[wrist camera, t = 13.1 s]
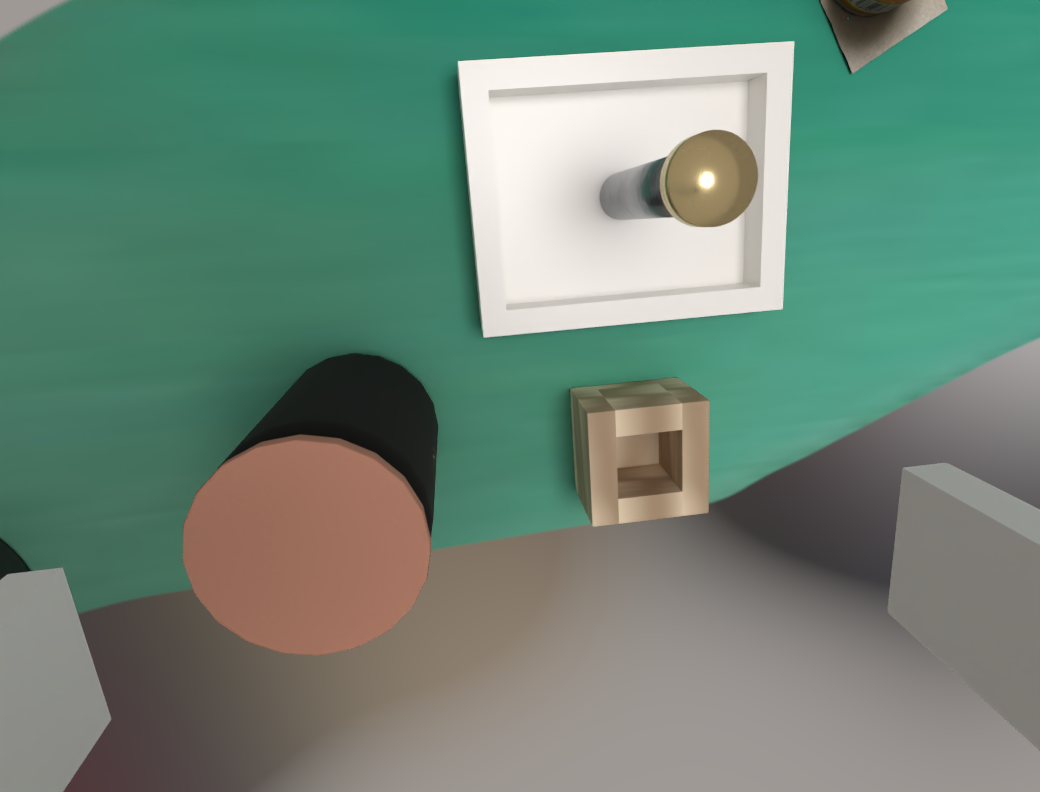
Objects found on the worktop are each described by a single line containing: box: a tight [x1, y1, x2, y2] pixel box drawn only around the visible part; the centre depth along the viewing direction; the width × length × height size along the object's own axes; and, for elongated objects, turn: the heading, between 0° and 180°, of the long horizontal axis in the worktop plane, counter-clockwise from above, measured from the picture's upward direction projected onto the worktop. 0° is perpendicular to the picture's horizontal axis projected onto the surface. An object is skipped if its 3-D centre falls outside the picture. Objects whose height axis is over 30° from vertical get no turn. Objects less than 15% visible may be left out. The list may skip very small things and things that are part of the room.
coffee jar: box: [183, 354, 438, 655], centre depth 36 cm, size 11×11×18 cm
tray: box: [457, 41, 794, 338], centre depth 41 cm, size 20×16×4 cm
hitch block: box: [570, 377, 710, 527], centre depth 44 cm, size 8×8×6 cm
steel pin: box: [600, 130, 758, 227], centre depth 34 cm, size 4×4×15 cm
